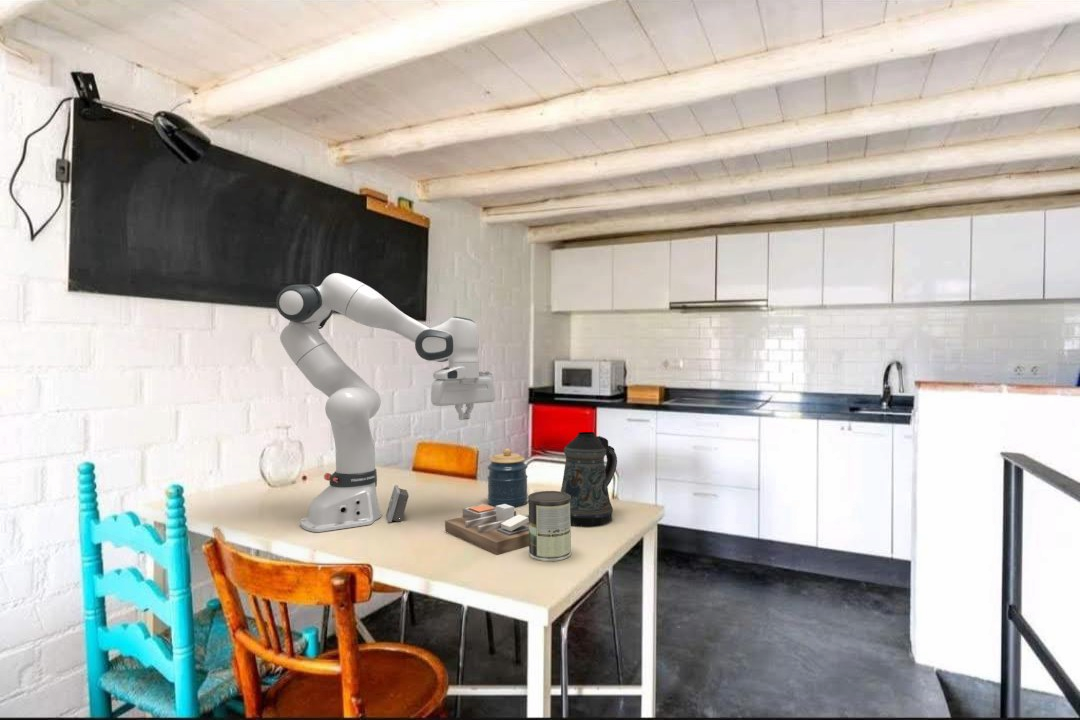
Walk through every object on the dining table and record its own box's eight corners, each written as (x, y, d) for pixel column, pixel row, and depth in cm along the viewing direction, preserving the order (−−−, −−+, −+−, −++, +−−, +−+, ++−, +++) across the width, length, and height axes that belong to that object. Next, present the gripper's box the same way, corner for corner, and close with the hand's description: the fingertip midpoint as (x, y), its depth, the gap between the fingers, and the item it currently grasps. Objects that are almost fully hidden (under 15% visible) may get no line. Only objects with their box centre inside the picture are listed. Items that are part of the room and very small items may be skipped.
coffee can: (519, 555, 139) (519, 496, 139) (546, 544, 147) (546, 488, 147) (553, 565, 133) (553, 503, 133) (579, 552, 141) (579, 494, 141)
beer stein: (546, 523, 165) (545, 435, 165) (573, 506, 183) (572, 427, 182) (601, 530, 158) (600, 438, 158) (623, 512, 176) (623, 429, 175)
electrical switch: (386, 515, 175) (388, 484, 175) (403, 515, 177) (406, 484, 177) (388, 523, 166) (391, 491, 166) (406, 523, 168) (409, 491, 168)
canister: (502, 495, 197) (502, 444, 197) (535, 500, 190) (534, 446, 190) (479, 504, 186) (479, 449, 186) (513, 510, 179) (512, 453, 179)
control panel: (496, 554, 140) (496, 532, 140) (445, 531, 158) (445, 511, 158) (553, 538, 151) (552, 517, 151) (498, 518, 170) (498, 500, 170)
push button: (479, 520, 157) (479, 511, 157) (469, 516, 161) (469, 507, 161) (494, 517, 160) (494, 508, 160) (484, 513, 164) (484, 504, 164)
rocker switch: (510, 531, 146) (510, 526, 146) (501, 527, 149) (500, 523, 149) (529, 521, 149) (528, 517, 149) (519, 518, 153) (518, 514, 152)
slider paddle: (505, 523, 154) (504, 508, 154) (496, 520, 157) (496, 505, 157) (514, 521, 156) (513, 506, 156) (505, 518, 159) (504, 503, 159)
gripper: (486, 371, 179) (487, 415, 179) (427, 373, 166) (428, 421, 166) (499, 371, 174) (499, 417, 175) (439, 373, 161) (439, 423, 161)
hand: (464, 419), depth 170 cm, fingers closed
